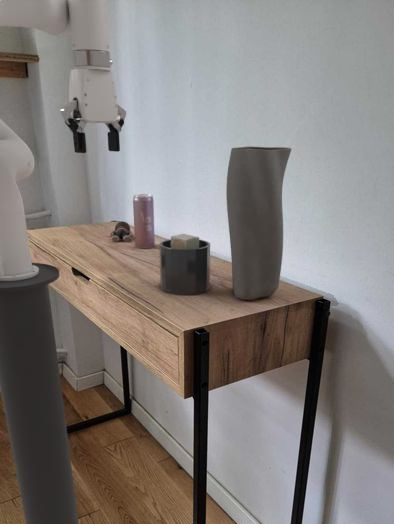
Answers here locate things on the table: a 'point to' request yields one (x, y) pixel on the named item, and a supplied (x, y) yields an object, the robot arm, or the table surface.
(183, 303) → the table surface
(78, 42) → the robot arm
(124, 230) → the figurine
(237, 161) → the vase
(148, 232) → the beverage can
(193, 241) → the box
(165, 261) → the cup
